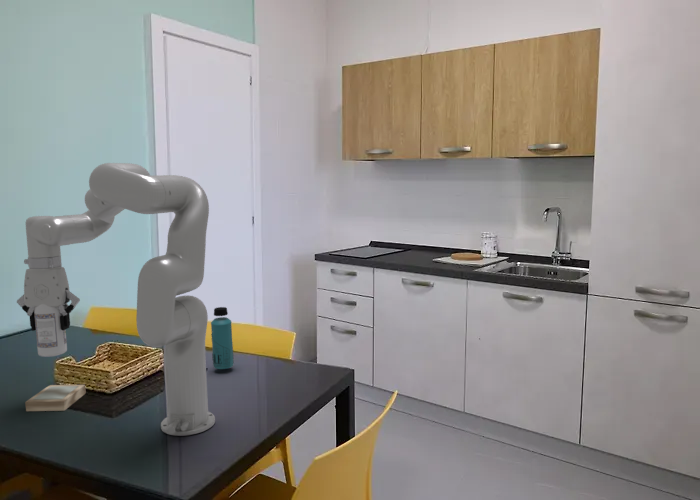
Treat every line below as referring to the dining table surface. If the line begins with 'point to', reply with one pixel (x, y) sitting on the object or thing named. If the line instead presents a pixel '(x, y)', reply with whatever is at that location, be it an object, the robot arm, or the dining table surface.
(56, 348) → the bath foam
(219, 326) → the beverage bottle
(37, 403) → the plinth
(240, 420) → the dining table surface
